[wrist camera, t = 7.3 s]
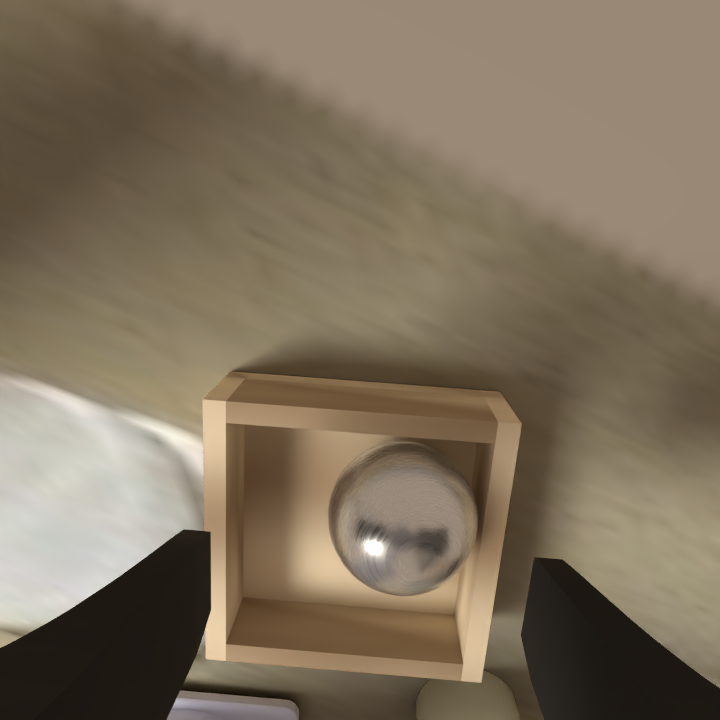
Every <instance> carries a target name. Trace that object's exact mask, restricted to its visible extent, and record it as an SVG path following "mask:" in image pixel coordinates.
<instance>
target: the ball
mask: <svg viewBox="0 0 720 720" xmlns="http://www.w3.org/2000/svg"><path fill="white" fill-rule="evenodd" d="M328 526H329V533H330V537H331V541H332V544H333V546H334V549H335V551H336V553H337V555H338V557H339V558H340V560H341V562H342V563H343V565H344V566H345V567H346V568H347V570H348V571H349V572H350V573H351V574H352V575H353V576H354V577H355V578H356V579H357V580H359V581H360V582H362V583H363V584H365V585H366V586H368V587H369V588H371V589H374V590H376V591H378V592H381V593H385V594H388V595H393V596H415V595H421V594H424V593H428V592H430V591H433V590H435V589H437V588H439V587H441V586H442V585H444V584H445V583H447V582H448V581H449V580H451V579H452V578H453V577H454V576H455V575H456V574H457V573H458V572H459V571H460V570H461V568H462V567H463V566H464V564H465V563H466V561H467V559H468V558H469V556H470V553H471V551H472V549H473V546H474V543H475V540H476V534H477V527H478V514H477V506H476V501H475V498H474V494H473V491H472V489H471V487H470V484H469V482H468V481H467V479H466V477H465V476H464V474H463V473H462V471H461V470H460V469H459V468H458V467H457V466H456V464H455V463H454V462H453V461H452V460H451V459H449V458H448V457H447V456H446V455H444V454H443V453H441V452H440V451H438V450H436V449H435V448H433V447H430V446H428V445H425V444H422V443H418V442H414V441H406V440H397V441H389V442H385V443H381V444H378V445H375V446H372V447H370V448H368V449H366V450H365V451H363V452H362V453H360V454H359V455H357V456H356V457H355V458H354V459H353V460H351V461H350V462H349V463H348V465H347V466H346V467H345V468H344V469H343V471H342V472H341V474H340V475H339V477H338V479H337V481H336V483H335V485H334V487H333V490H332V493H331V496H330V501H329V506H328Z"/></svg>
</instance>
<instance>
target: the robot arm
mask: <svg viewBox="0 0 720 720" xmlns="http://www.w3.org/2000/svg"><path fill="white" fill-rule="evenodd" d="M210 612H211V532H208V531H195V530H182V531H181V532H180V533H178V534H177V535H175V536H174V537H173V538H171V539H170V540H169V541H167V542H166V543H165V544H163V545H162V546H161V547H159V548H158V549H157V550H155V551H154V552H153V553H151V554H150V555H149V556H147V557H146V558H145V559H143V560H142V561H140V562H139V563H138V564H136V565H135V566H133V567H132V568H131V569H129V570H128V571H127V572H125V573H124V574H122V575H121V576H120V577H118V578H117V579H115V580H114V581H113V582H111V583H110V584H108V585H107V586H105V587H104V588H102V589H100V590H99V591H97V592H96V593H94V594H93V595H91V596H90V597H88V598H87V599H85V600H84V601H82V602H81V603H79V604H78V605H76V606H75V607H73V608H72V609H70V610H68V611H67V612H65V613H63V614H62V615H60V616H59V617H57V618H55V619H53V620H52V621H50V622H48V623H47V624H45V625H43V626H41V627H39V628H38V629H36V630H34V631H32V632H30V633H28V634H27V635H25V636H23V637H21V638H19V639H17V640H16V641H14V642H12V643H10V644H8V645H6V646H4V647H2V648H0V720H299V709H298V707H297V705H296V704H295V703H293V702H292V701H289V700H284V699H273V698H261V697H250V696H238V695H227V694H215V693H204V692H193V691H181V688H182V685H183V683H184V681H185V679H186V677H187V674H188V672H189V670H190V668H191V666H192V663H193V661H194V659H195V657H196V655H197V652H198V649H199V646H200V643H201V640H202V637H203V634H204V631H205V628H206V624H207V621H208V618H209V615H210ZM521 637H522V642H523V646H524V651H525V656H526V660H527V665H528V669H529V673H530V677H531V681H532V685H533V688H534V690H535V693H536V696H537V699H538V702H539V705H540V708H541V711H542V713H543V716H544V719H545V720H720V688H718V687H717V686H715V685H714V684H712V683H711V682H710V681H708V680H707V679H705V678H704V677H702V676H701V675H700V674H698V673H697V672H696V671H694V670H693V669H692V668H690V667H689V666H688V665H686V664H685V663H684V662H682V661H681V660H680V659H679V658H677V657H676V656H675V655H674V654H672V653H671V652H670V651H668V650H667V649H666V648H665V647H663V646H662V645H661V644H660V643H658V642H657V641H656V640H655V639H653V638H652V637H651V636H650V635H649V634H647V633H646V632H645V631H644V630H643V629H641V628H640V627H639V626H638V625H637V624H635V623H634V622H633V621H632V620H631V619H630V618H628V617H627V616H626V615H625V614H624V613H623V612H622V611H620V610H619V609H618V608H617V607H616V606H615V605H614V604H612V603H611V602H610V601H609V600H608V599H607V598H606V597H605V596H604V595H602V594H601V593H600V592H599V591H598V590H597V589H596V588H595V587H593V586H592V585H591V584H590V583H589V582H588V581H587V580H586V579H585V578H583V577H582V576H581V575H580V574H579V573H578V572H577V571H575V570H574V569H573V568H572V567H571V566H570V565H568V564H567V563H566V562H565V561H563V560H560V559H548V558H535V557H534V563H533V569H532V575H531V581H530V586H529V592H528V598H527V604H526V609H525V615H524V621H523V627H522V633H521Z"/></svg>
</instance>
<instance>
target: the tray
mask: <svg viewBox="0 0 720 720" xmlns="http://www.w3.org/2000/svg"><path fill="white" fill-rule="evenodd" d="M521 427H522V423H521V422H520V420H519V419H518V417H517V416H516V415H515V413H514V412H513V410H512V409H511V407H510V406H509V404H508V403H507V402H506V400H505V399H504V397H503V396H502V394H501V393H500V392H498V391H485V390H472V389H458V388H445V387H431V386H418V385H405V384H391V383H378V382H365V381H351V380H338V379H325V378H311V377H298V376H285V375H271V374H258V373H245V372H230V373H229V374H228V375H227V376H226V377H225V378H224V379H223V380H222V381H221V382H220V383H219V384H218V385H217V386H216V387H215V388H214V389H213V390H212V391H211V392H210V393H209V394H208V395H207V396H206V397H205V398H204V399H203V463H204V531H208V532H211V612H210V615H209V618H208V621H207V624H206V659H211V660H222V661H234V662H246V663H257V664H269V665H280V666H292V667H304V668H315V669H327V670H338V671H350V672H362V673H373V674H385V675H397V676H408V677H420V678H431V679H443V680H455V681H466V682H478V683H481V682H482V675H483V669H484V662H485V656H486V650H487V643H488V637H489V631H490V624H491V618H492V611H493V605H494V599H495V592H496V586H497V580H498V573H499V567H500V560H501V554H502V548H503V541H504V535H505V529H506V522H507V516H508V509H509V503H510V497H511V490H512V484H513V478H514V471H515V465H516V458H517V452H518V446H519V439H520V433H521ZM397 440H406V441H414V442H418V443H422V444H425V445H428V446H430V447H433V448H435V449H436V450H438V451H440V452H441V453H443V454H444V455H446V456H447V457H448V458H449V459H451V460H452V461H453V462H454V463H455V464H456V466H457V467H458V468H459V469H460V470H461V471H462V473H463V474H464V476H465V477H466V479H467V481H468V482H469V484H470V487H471V489H472V491H473V494H474V498H475V501H476V506H477V514H478V527H477V534H476V540H475V543H474V546H473V549H472V551H471V553H470V556H469V558H468V559H467V561H466V563H465V564H464V566H463V567H462V568H461V570H460V571H459V572H458V573H457V574H456V575H455V576H454V577H453V578H452V579H451V580H449V581H448V582H447V583H445V584H444V585H442V586H441V587H439V588H437V589H435V590H433V591H430V592H428V593H424V594H421V595H415V596H393V595H388V594H385V593H381V592H378V591H376V590H374V589H371V588H369V587H368V586H366V585H365V584H363V583H362V582H360V581H359V580H357V579H356V578H355V577H354V576H353V575H352V574H351V573H350V572H349V571H348V570H347V568H346V567H345V566H344V565H343V563H342V562H341V560H340V558H339V557H338V555H337V553H336V551H335V549H334V546H333V544H332V541H331V537H330V533H329V526H328V506H329V501H330V496H331V493H332V490H333V487H334V485H335V483H336V481H337V479H338V477H339V475H340V474H341V472H342V471H343V469H344V468H345V467H346V466H347V465H348V463H349V462H350V461H351V460H353V459H354V458H355V457H356V456H357V455H359V454H360V453H362V452H363V451H365V450H366V449H368V448H370V447H372V446H375V445H378V444H381V443H385V442H389V441H397Z"/></svg>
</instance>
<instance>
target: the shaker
mask: <svg viewBox="0 0 720 720" xmlns="http://www.w3.org/2000/svg"><path fill="white" fill-rule="evenodd" d="M416 720H520V717H519V713H518V709H517V706H516V702H515V699H514V696H513V693H512V691H511V690H510V688H509V687H508V686H507V685H506V683H505V682H503V681H502V680H501V679H500V678H498V677H497V676H495V675H493V674H491V673H489V672H486V671H484V670H483V675H482V682H481V683H478V682H466V681H455V680H443V679H431V680H429V681H428V682H427V683H426V684H425V685H424V687H423V688H422V689H421V691H420V693H419V695H418V697H417V701H416Z"/></svg>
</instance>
